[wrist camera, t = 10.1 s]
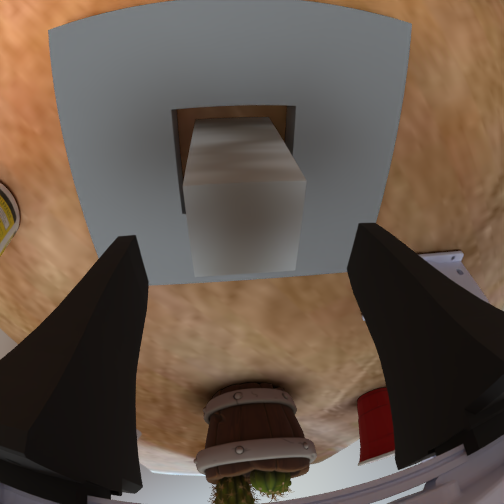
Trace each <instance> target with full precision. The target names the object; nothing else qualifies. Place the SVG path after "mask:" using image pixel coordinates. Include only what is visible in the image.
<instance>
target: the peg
mask: <svg viewBox="0 0 504 504" xmlns="http://www.w3.org/2000/svg"><path fill="white" fill-rule="evenodd" d="M305 190H306V179H305V177H304V175H303V174H302V172H301V170H300V168H299V167H298V165H297V163H296V162H295V160H294V158H293V156H292V155H291V153H290V151H289V150H288V148H287V146H286V145H285V143H284V141H283V140H282V138H281V136H280V135H279V133H278V131H277V130H276V128H275V127H274V125H273V123H272V122H271V120H270V118H269V117H236V118H213V119H197V120H195V125H194V130H193V134H192V139H191V144H190V149H189V154H188V160H187V165H186V170H185V176H184V181H183V193H184V202H185V210H186V218H187V225H188V233H189V240H190V247H191V254H192V261H193V268H194V274H195V277H203V276H220V275H236V274H251V273H266V272H280V271H294V270H295V268H296V261H297V253H298V246H299V239H300V231H301V223H302V215H303V207H304V199H305Z"/></svg>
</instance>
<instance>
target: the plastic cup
mask: <svg viewBox="0 0 504 504" xmlns="http://www.w3.org/2000/svg"><path fill="white" fill-rule="evenodd" d="M357 403H358V404H357V408H358V416H359V419H358V422H359V434H360V446H361V448H360V461H359V463H358V466H360V465H364V464H368V463H372V462H375V461H378V460H382V459H385V458H387V457H391V456H393V455H395V444H394V431H393V422H392V414H391V407H390V401H389V396H388V391H387V388H379V389H375V390H372V391H370V392H368V393H366V394H364V395H362V396H361V397H360V398H359V399H358V401H357Z"/></svg>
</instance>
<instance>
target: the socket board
mask: <svg viewBox="0 0 504 504" xmlns="http://www.w3.org/2000/svg"><path fill="white" fill-rule="evenodd" d="M411 28H412V24H411V23H408V22H404V21H401V20H398V19H394V18H391V17H387V16H383V15H379V14H375V13H371V12H367V11H363V10H358V9H353V8H348V7H343V6H337V5H331V4H325V3H318V2H310V1H302V0H176V1H167V2H160V3H153V4H147V5H141V6H135V7H130V8H125V9H120V10H115V11H111V12H107V13H103V14H99V15H95V16H91V17H88V18H84V19H81V20H77V21H74V22H71V23H68V24H65V25H62V26H59V27H56V28H53V29H50V30H48V34H49V47H50V58H51V67H52V75H53V83H54V90H55V96H56V102H57V108H58V114H59V119H60V124H61V129H62V134H63V139H64V143H65V148H66V152H67V156H68V160H69V164H70V168H71V172H72V176H73V180H74V183H75V187H76V191H77V194H78V197H79V201H80V204H81V207H82V211H83V214H84V217H85V220H86V223H87V226H88V229H89V232H90V235H91V238H92V241H93V244H94V247H95V249H96V252H97V255H98V258H100V257H101V256H102V254H103V253H104V252H105V251H106V250H107V248H108V247H109V246H110V245H111V244H112V243H113V241H114V240H115V239H116V238H117V237H118V236H128V235H136V237H137V241H138V245H139V249H140V252H141V256H142V260H143V263H144V267H145V270H146V274H147V277H148V281H149V285H168V284H187V283H204V282H221V281H237V280H251V279H266V278H279V277H293V276H305V275H318V274H329V273H341V272H347V265H348V262H349V258H350V254H351V251H352V247H353V243H354V239H355V235H356V232H357V228H358V224H359V223H376V220H377V217H378V213H379V209H380V205H381V202H382V198H383V194H384V190H385V186H386V182H387V177H388V173H389V169H390V164H391V160H392V155H393V151H394V146H395V141H396V136H397V131H398V125H399V120H400V114H401V109H402V102H403V96H404V90H405V83H406V75H407V68H408V59H409V50H410V40H411ZM236 105H287V116H286V133H285V145H286V146H287V148H288V150H289V151H290V153H291V155H292V156H293V158H294V160H295V162H296V163H297V165H298V167H299V168H300V170H301V172H302V174H303V175H304V177H305V179H306V190H305V199H304V207H303V215H302V223H301V231H300V239H299V246H298V253H297V261H296V268H295V270H294V271H280V272H266V273H251V274H236V275H220V276H203V277H195V274H194V268H193V261H192V254H191V247H190V240H189V233H188V225H187V218H186V210H185V202H184V193H183V176H182V166H181V156H180V145H179V134H178V122H177V109H184V108H197V107H212V106H236Z"/></svg>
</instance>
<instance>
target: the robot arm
mask: <svg viewBox="0 0 504 504" xmlns="http://www.w3.org/2000/svg"><path fill="white" fill-rule="evenodd" d="M463 256H464V254H463V253H462V251H454V252H442V253H431V254H420V255H418V254H416V253H415V252H414V251H413V250H411V249H410V248H409V247H407V246H406V245H405V244H404V243H402V242H401V241H400V240H398V239H397V238H396V237H395V236H393V235H392V234H391V233H389V232H388V231H386V230H385V229H384V228H382V227H381V226H379V225H378V224H376V223H359V224H358V228H357V232H356V235H355V239H354V243H353V247H352V251H351V254H350V258H349V262H348V265H347V272H348V276H349V279H350V283H351V286H352V290H353V293H354V296H355V298H356V300H357V303H358V305H359V308H360V310H361V312H362V319H363V320H364V321H365V322H366V324H367V326H368V329H369V331H370V334H371V336H372V339H373V341H374V343H375V346H376V349H377V352H378V355H379V358H380V361H381V365H382V369H383V373H384V377H385V381H386V386H387V391H388V396H389V401H390V407H391V414H392V422H393V431H394V444H395V461H396V465H397V468H398V470H400V469H403V468H405V467H408V466H411V465H413V464H416V463H418V462H420V461H421V462H422V463H420V464H418V465H415V466H413V467H410V468H408V469H405V470H403V471H400V472H397V473H394V474H392V475H389V476H386V477H383V478H380V479H377V480H373V481H370V482H367V483H363V484H360V485H356V486H353V487H349V488H345V489H342V490H337V491H333V492H329V493H324V494H319V495H314V496H309V497H305V498H299V499H292V500H286V501H279V502H271V503H262V504H370V503H373V502H376V501H379V500H382V499H385V498H388V497H391V496H393V495H396V494H399V493H401V492H404V491H406V490H409V489H411V488H414V487H416V486H419V485H421V484H423V483H425V482H426V484H425V487H424V489H423V490H422V491H420V492H417V493H414V494H411V495H408V496H405V497H403V498H400V499H397V500H395V501H393V502H390V503H387V504H504V311H502V310H500V309H498V308H496V307H494V306H492V305H491V304H490V303H489V301H488V299H487V298H486V296H485V295H484V293H483V292H482V290H481V289H480V288H479V286H478V285H477V283H476V282H475V280H474V279H473V278H472V276H471V275H470V273H469V272H468V271H467V269H466V268H465V266H464V265H463V264H462V262H461V260H462V258H463ZM148 286H149V281H148V277H147V274H146V270H145V267H144V263H143V260H142V256H141V252H140V249H139V245H138V241H137V237H136V235H128V236H118V237H117V238H116V239H115V240H114V241H113V243H112V244H111V245H110V246H109V247H108V248H107V250H106V251H105V252H104V253H103V254H102V256H101V257H100V258H99V259H98V260H97V262H96V263H95V264H94V265H93V266H92V268H91V269H90V270H89V271H88V272H87V274H86V275H85V276H84V277H83V278H82V280H81V281H80V282H79V283H78V284H77V285H76V286H75V287H74V289H73V290H72V291H71V292H70V293H69V294H68V295H67V297H66V298H65V299H64V300H63V301H62V302H61V303H60V305H59V306H58V307H57V308H56V309H55V310H54V311H53V312H52V313H51V314H50V315H49V316H48V317H47V318H46V319H45V320H44V321H43V322H42V323H41V324H40V325H39V326H38V327H37V328H36V329H35V330H34V331H33V332H32V333H31V334H29V335H28V336H27V337H26V338H25V339H24V340H23V341H22V342H21V343H20V344H18V346H16V347H15V348H14V349H13V350H12V351H11V352H9V353H8V354H7V355H6V356H5V357H3V358H2V359H1V360H0V504H139V503H130V502H123V501H116V500H111V495H117V496H121V495H122V492H126V493H134V494H135V493H137V492H138V491H139V490H140V489H141V488H142V487H143V485H142V480H141V473H140V466H139V458H138V447H137V435H136V407H135V399H136V373H137V364H138V358H139V352H140V346H141V340H142V334H143V328H144V323H145V317H146V311H147V301H148Z"/></svg>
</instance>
